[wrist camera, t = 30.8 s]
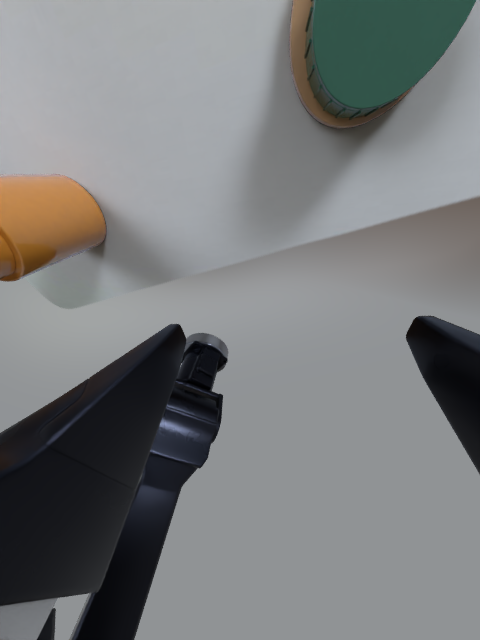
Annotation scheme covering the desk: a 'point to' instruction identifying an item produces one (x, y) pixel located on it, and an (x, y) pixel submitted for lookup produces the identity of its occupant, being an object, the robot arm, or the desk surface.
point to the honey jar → (44, 222)
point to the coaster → (300, 75)
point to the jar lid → (375, 49)
